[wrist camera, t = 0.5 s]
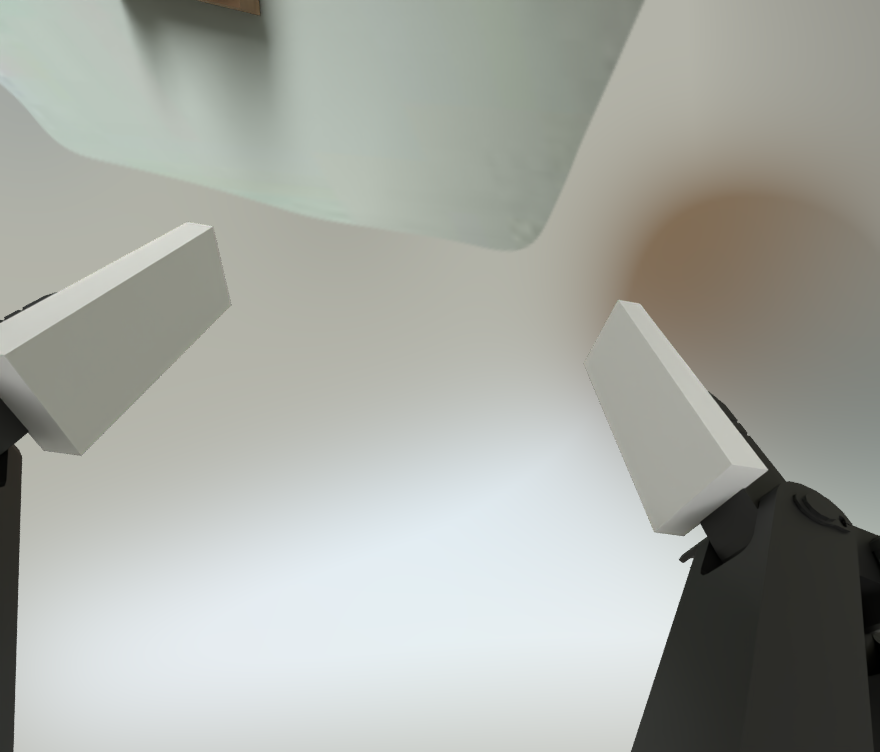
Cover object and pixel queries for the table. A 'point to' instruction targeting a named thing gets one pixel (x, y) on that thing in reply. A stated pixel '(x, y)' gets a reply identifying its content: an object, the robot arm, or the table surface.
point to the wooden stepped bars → (238, 5)
